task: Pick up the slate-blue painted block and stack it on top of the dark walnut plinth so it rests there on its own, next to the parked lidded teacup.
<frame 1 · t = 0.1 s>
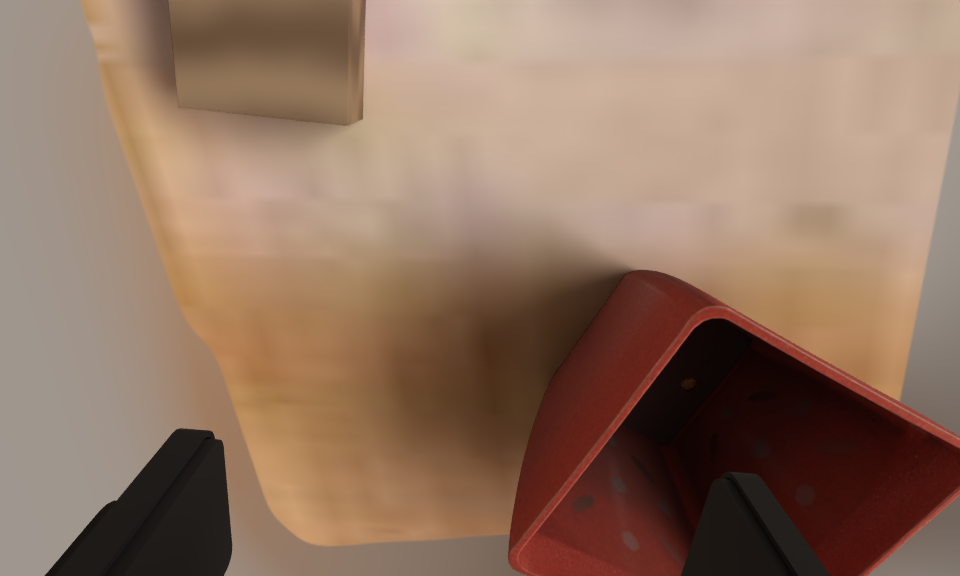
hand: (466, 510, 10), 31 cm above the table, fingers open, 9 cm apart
walnut plinth: (287, 30, 35), on the table
plant pot: (645, 361, 45), on the table
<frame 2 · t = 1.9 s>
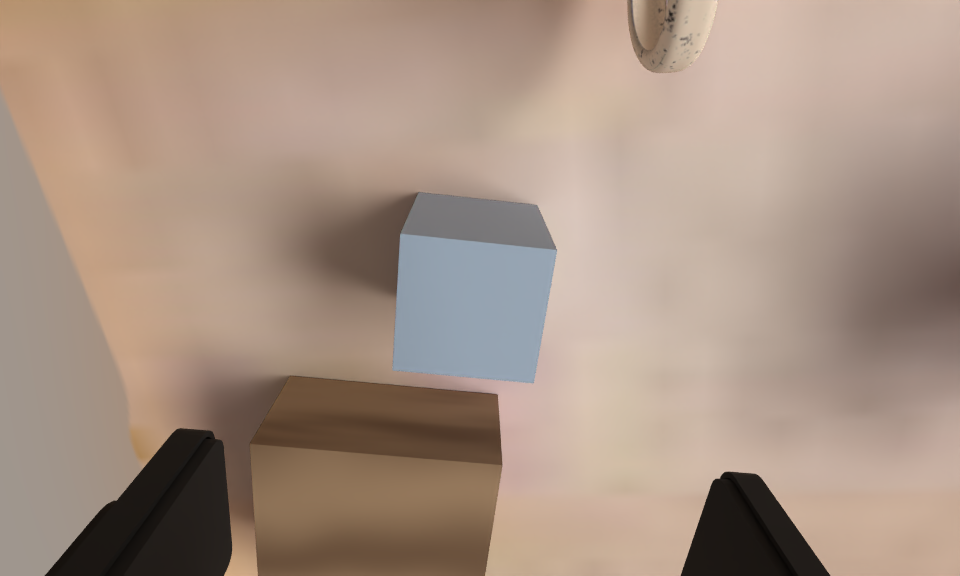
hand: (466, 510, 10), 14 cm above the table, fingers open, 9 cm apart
walnut plinth: (390, 467, 28), on the table
slate block: (471, 254, 24), on the table
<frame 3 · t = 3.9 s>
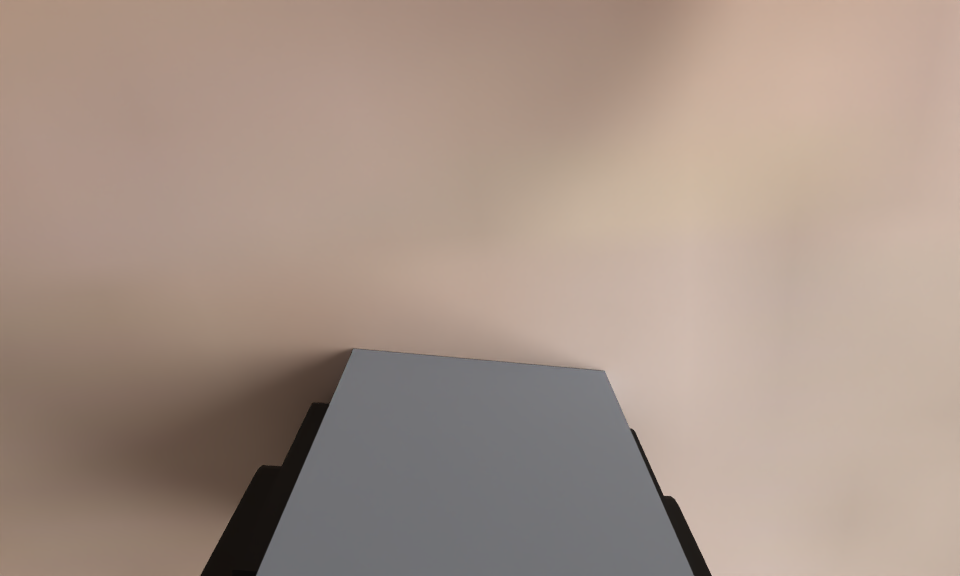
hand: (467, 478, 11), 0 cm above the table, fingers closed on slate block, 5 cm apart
slate block: (468, 461, 12), on the table, touching gripper
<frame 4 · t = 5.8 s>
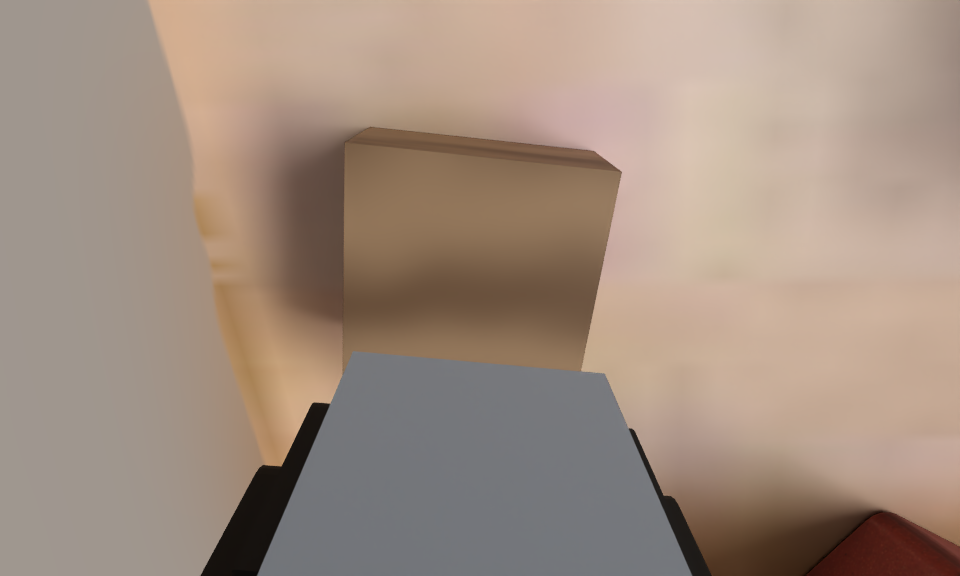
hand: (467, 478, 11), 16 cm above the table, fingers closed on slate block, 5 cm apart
walnut plinth: (472, 245, 26), on the table
slate block: (467, 463, 12), point 15 cm above the table, touching gripper
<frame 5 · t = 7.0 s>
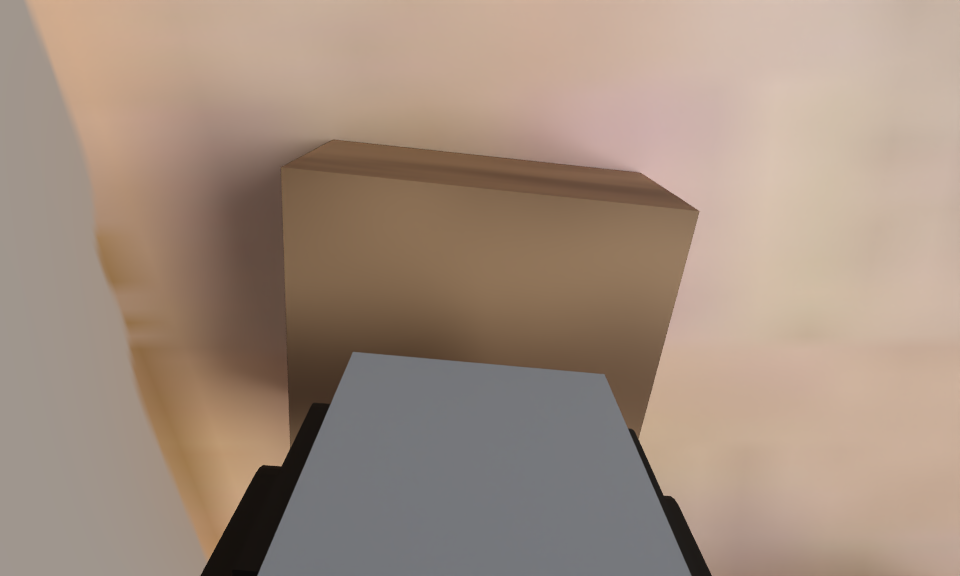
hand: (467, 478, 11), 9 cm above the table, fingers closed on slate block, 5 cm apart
walnut plinth: (473, 297, 19), on the table
slate block: (467, 464, 12), point 8 cm above the table, touching gripper
when the fingers open (7 cm above the table, at t = 7.8 s): slate block drops 1 cm, resting on walnut plinth.
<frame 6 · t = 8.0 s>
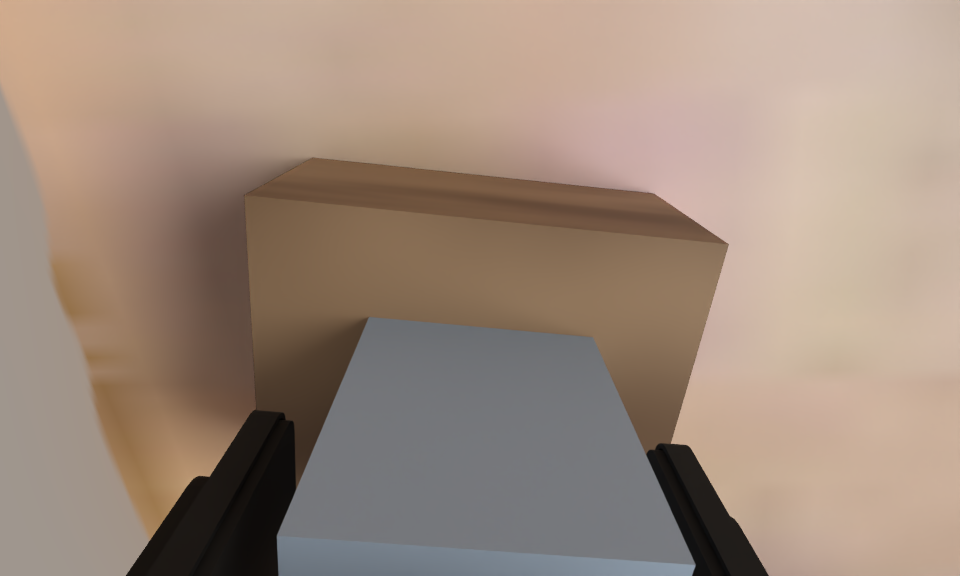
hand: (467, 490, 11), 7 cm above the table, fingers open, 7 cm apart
walnut plinth: (469, 329, 18), on the table
slate block: (471, 420, 13), point 5 cm above the table, touching walnut plinth
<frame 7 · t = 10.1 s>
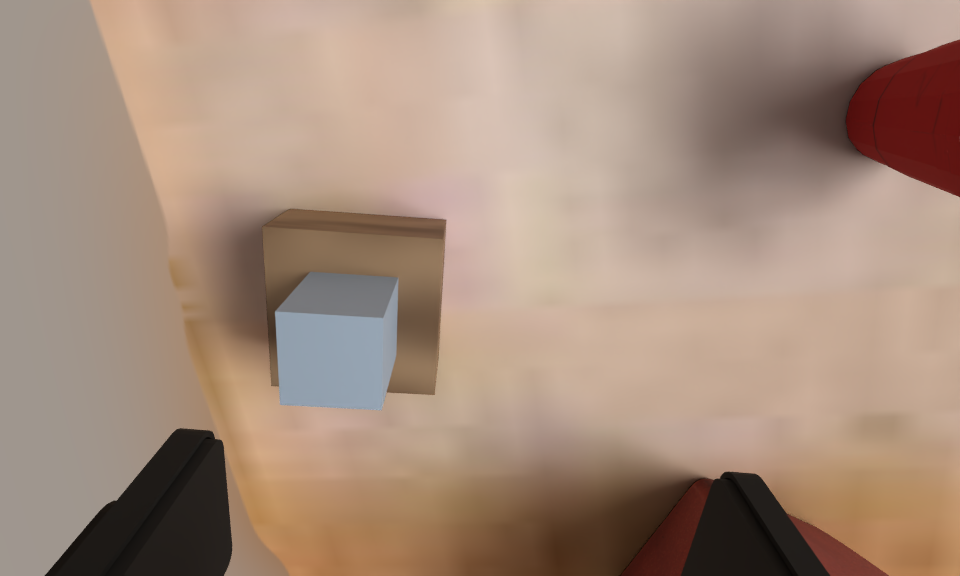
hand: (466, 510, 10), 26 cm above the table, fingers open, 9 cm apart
walnut plinth: (368, 287, 36), on the table
slate block: (354, 315, 32), point 5 cm above the table, touching walnut plinth
plant pot: (713, 554, 45), on the table
plastic cup: (889, 107, 33), on the table
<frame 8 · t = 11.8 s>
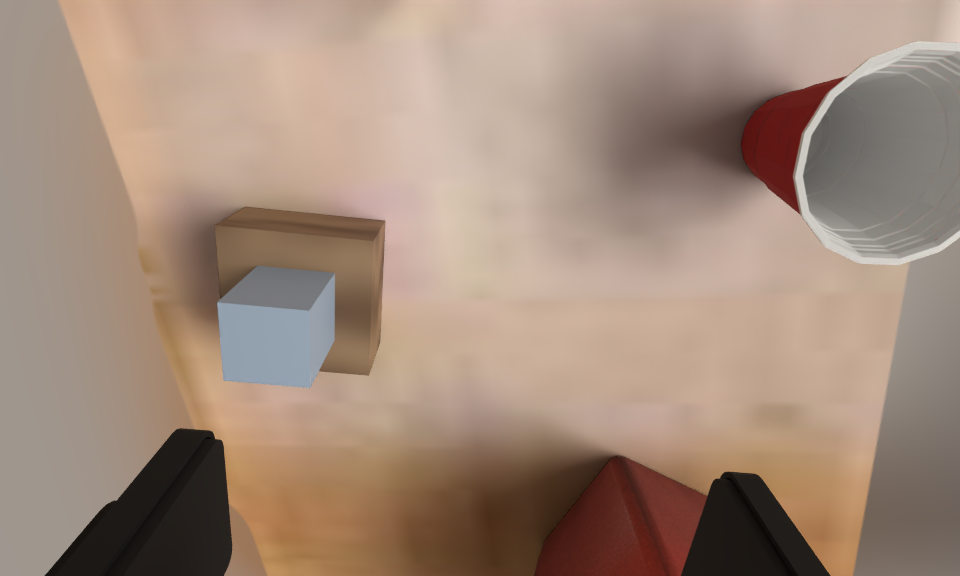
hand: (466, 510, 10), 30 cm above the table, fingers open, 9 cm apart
walnut plinth: (316, 278, 41), on the table
slate block: (297, 304, 36), point 5 cm above the table, touching walnut plinth
plant pot: (629, 523, 51), on the table
plastic cup: (780, 133, 37), on the table
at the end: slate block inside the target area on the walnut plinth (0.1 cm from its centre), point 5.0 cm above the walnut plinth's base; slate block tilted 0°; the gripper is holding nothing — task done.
